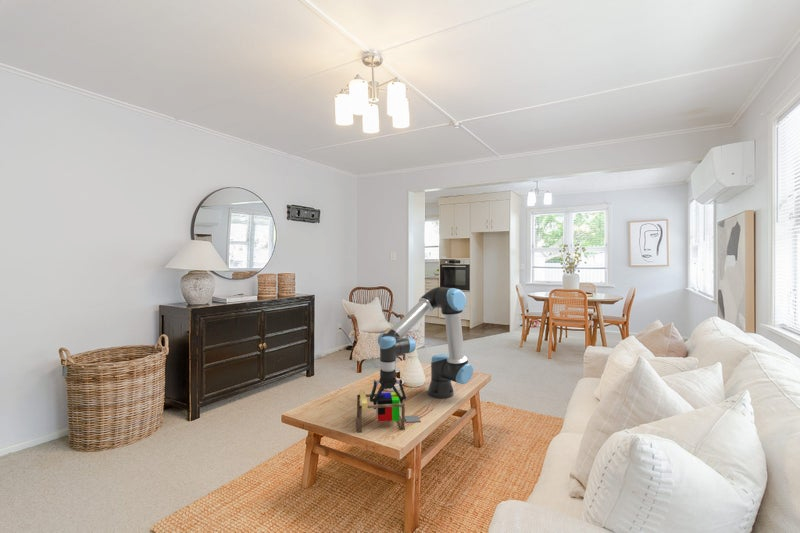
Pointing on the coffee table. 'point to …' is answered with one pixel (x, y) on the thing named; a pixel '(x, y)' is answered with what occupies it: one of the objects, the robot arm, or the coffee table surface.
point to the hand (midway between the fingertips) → (387, 414)
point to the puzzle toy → (388, 412)
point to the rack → (359, 408)
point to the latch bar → (363, 399)
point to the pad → (412, 419)
